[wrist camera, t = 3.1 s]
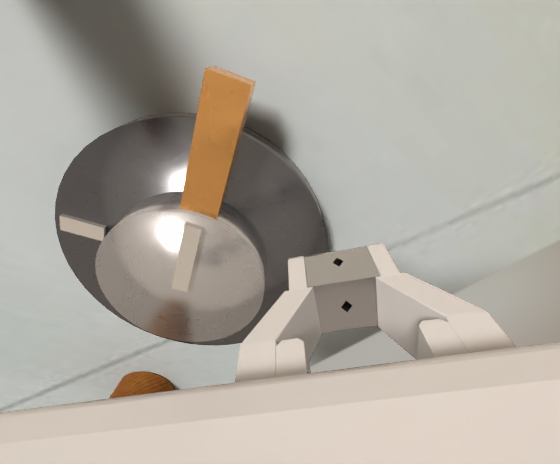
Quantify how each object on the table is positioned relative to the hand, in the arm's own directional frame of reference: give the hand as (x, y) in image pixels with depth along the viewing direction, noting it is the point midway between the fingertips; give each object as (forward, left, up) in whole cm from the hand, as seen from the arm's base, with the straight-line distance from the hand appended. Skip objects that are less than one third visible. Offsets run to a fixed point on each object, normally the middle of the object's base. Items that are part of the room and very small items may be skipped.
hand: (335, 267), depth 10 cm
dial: (+6, +6, -10) cm, 13 cm away
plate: (+6, +10, -13) cm, 17 cm away
